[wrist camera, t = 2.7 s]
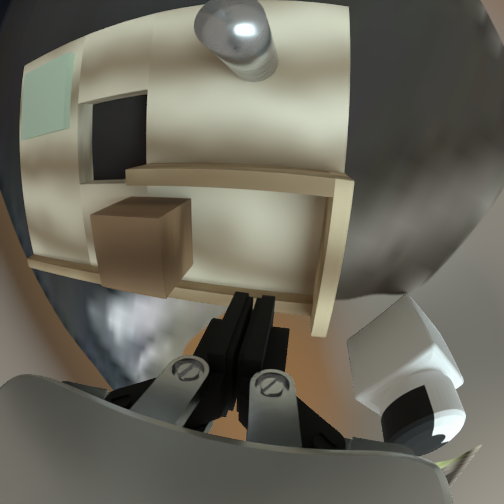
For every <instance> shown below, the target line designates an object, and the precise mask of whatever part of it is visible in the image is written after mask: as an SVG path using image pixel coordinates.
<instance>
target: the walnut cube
mask: <svg viewBox="0 0 504 504" xmlns="http://www.w3.org/2000/svg"><path fill="white" fill-rule="evenodd" d="M90 220H91V228H92V235H93V241H94V247H95V253H96V259H97V264H98V269H99V274H100V279H101V284H102V286H103V287H107V288H112V289H117V290H122V291H127V292H132V293H137V294H142V295H147V296H153V297H158V298H164V299H166V298H167V297H168V296H169V294H170V293H171V292H172V291H173V289H174V288H175V287H176V285H177V284H178V283H179V282H180V280H181V279H182V278H183V277H184V275H185V274H186V273H187V272H188V270H189V269H190V268H191V267H192V265H193V245H192V211H191V198H168V197H135V196H131V197H128V198H126V199H124V200H121V201H119V202H117V203H115V204H112V205H110V206H108V207H106V208H103V209H101V210H99V211H97V212H95V213H93V214H90Z"/></svg>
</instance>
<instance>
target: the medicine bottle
mask: <svg viewBox="0 0 504 504" xmlns="http://www.w3.org/2000/svg"><path fill="white" fill-rule="evenodd" d="M347 347H348V352H349V360H350V366H351V373H352V381H353V388H354V396H355V398H356V400H358V401H359V402H361V403H362V404H364V405H365V406H367V407H368V408H370V409H371V410H373V411H375V412H376V413H378V414H379V415H380V418H381V424H382V431H383V437H384V442H387V443H394V444H402V445H405V446H408V447H409V448H410V449H412V450H413V452H414V454H415V456H421V455H425V454H427V453H430V452H432V451H434V450H436V449H438V448H440V447H441V446H443V445H444V444H446V443H447V442H448V441H450V440H451V439H452V438H453V437H454V436H455V435H456V434H457V433H458V432H459V431H460V430H461V428H462V426H463V424H464V421H465V418H466V415H465V412H464V409H463V407H462V404H461V401H460V399H459V396H458V394H457V392H456V389H457V388H458V387H459V386H461V385H462V384H463V377H462V375H461V373H460V371H459V369H458V367H457V365H456V363H455V361H454V359H453V357H452V355H451V353H450V351H449V349H448V347H447V345H446V343H445V342H444V340H443V338H442V336H441V334H440V333H439V331H438V330H437V329H436V327H435V326H434V325H433V324H432V322H431V321H430V320H429V318H428V317H427V316H426V315H425V313H424V312H423V311H422V310H421V309H420V307H419V306H418V305H417V304H416V302H415V301H414V300H413V299H412V298H411V296H410V295H408V294H405V295H403V296H402V297H401V298H400V299H399V300H397V301H396V302H395V303H394V304H393V305H391V306H390V307H389V308H388V309H387V310H385V311H384V312H383V313H382V314H381V315H379V316H378V317H377V318H375V319H374V320H373V321H372V322H370V323H369V324H368V325H367V326H365V327H364V328H363V329H361V330H360V331H359V332H357V333H356V334H355V335H353V336H352V337H351V338H349V339H348V340H347Z"/></svg>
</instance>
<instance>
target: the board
mask: <svg viewBox="0 0 504 504" xmlns="http://www.w3.org/2000/svg"><path fill="white" fill-rule="evenodd" d="M258 2H259V3H260V4H261V5H262V7H263V8H264V11H265V13H266V17H267V20H268V23H269V26H270V30H271V33H272V37H273V40H274V44H275V47H276V51H277V54H278V59H279V63H278V67H277V69H276V71H275V72H274V74H273V75H272V76H270V77H269V78H267V79H265V80H263V81H259V82H249V81H245V80H243V79H241V78H240V77H238V76H237V75H236V74H235V73H234V72H233V71H232V70H231V69H230V68H229V67H228V66H227V65H226V64H225V63H224V62H223V61H221V60H220V59H219V58H218V57H217V56H216V55H215V54H214V53H213V52H212V51H210V50H209V49H208V48H207V47H206V46H205V45H204V44H203V43H201V42H200V41H199V39H198V38H197V36H196V34H195V32H194V20H195V17H196V15H197V13H198V12H199V10H200V9H201V8H202V7H203V6H204V5H198V6H191V7H185V8H180V9H174V10H169V11H165V12H160V13H156V14H152V15H148V16H144V17H140V18H136V19H133V20H129V21H126V22H123V23H120V24H117V25H114V26H111V27H108V28H105V29H102V30H99V31H97V32H94V33H91V34H89V35H86V36H84V37H82V38H79V39H77V40H75V41H72V42H70V43H68V44H66V45H63V46H61V47H59V48H57V49H55V50H53V51H51V52H49V53H47V54H45V55H43V56H42V57H40V58H38V59H36V60H34V61H33V62H31V63H29V64H27V65H26V66H24V73H23V82H22V92H21V105H20V163H21V177H22V187H23V196H24V204H25V211H26V217H27V223H28V228H29V234H30V239H31V243H32V248H33V252H34V255H32V256H31V257H29V258H27V261H28V265H29V267H31V268H35V269H38V270H42V271H46V272H50V273H54V274H58V275H62V276H67V277H71V278H75V279H80V280H84V281H89V282H93V283H98V284H101V279H100V274H99V269H98V264H97V259H96V253H95V247H94V241H93V235H92V228H91V220H90V214H93V213H95V212H97V211H99V210H101V209H103V208H106V207H108V206H110V205H112V204H115V203H117V202H119V201H121V200H124V199H126V198H128V197H131V196H135V197H168V198H191V211H192V245H193V265H192V267H191V268H190V269H189V270H188V272H187V273H186V274H185V275H184V277H183V278H182V279H181V280H180V282H179V283H178V284H177V285H176V287H175V288H174V289H173V291H172V292H171V293H170V294H169V296H168V297H170V298H176V299H182V300H189V301H195V302H201V303H208V304H215V305H222V306H229V304H230V302H231V300H232V298H233V296H234V294H235V292H236V291H238V292H245V293H249V296H250V297H253V308H254V305H255V302H256V299H257V297H258V298H262V295H269V296H275V307H274V312H277V313H286V314H295V315H306V316H311V336H317V337H326V335H327V331H328V327H329V323H330V318H331V314H332V310H333V305H334V301H335V296H336V291H337V287H338V282H339V277H340V272H341V266H342V261H343V256H344V250H345V244H346V238H347V232H348V225H349V219H350V212H351V205H352V197H353V189H354V180H352V179H351V178H350V177H348V176H347V175H346V174H344V168H345V158H346V146H347V132H348V116H349V93H350V25H349V7H346V6H339V5H332V4H324V3H314V2H301V1H279V0H258ZM67 53H74V54H75V59H74V67H73V76H72V87H71V103H70V128H69V129H65V130H61V131H57V132H53V133H49V134H45V135H41V136H38V137H34V138H31V139H27V140H22V141H21V114H22V97H23V86H24V77H25V74H27V73H28V72H30V71H32V70H34V69H36V68H38V67H40V66H41V65H43V64H45V63H47V62H49V61H52V60H54V59H56V58H58V57H60V56H62V55H65V54H67ZM145 94H148V95H147V122H146V165H142V166H137V167H133V168H129V169H125V173H126V179H117V180H94V177H93V156H92V111H93V104H97V103H101V102H106V101H111V100H116V99H121V98H127V97H132V96H138V95H145Z"/></svg>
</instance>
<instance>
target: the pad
mask: <svg viewBox="0 0 504 504" xmlns="http://www.w3.org/2000/svg"><path fill="white" fill-rule="evenodd" d="M74 59H75V54H74V53H67V54H65V55H62V56H60V57H58V58H56V59H54V60H52V61H49V62H47V63H45V64H43V65H41V66H40V67H38V68H36V69H34V70H32V71H30V72H28V73H27V74H25V77H24V86H23V97H22V114H21V141H22V140H27V139H31V138H34V137H38V136H41V135H45V134H49V133H53V132H57V131H61V130H65V129H69V128H70V103H71V87H72V76H73V67H74Z"/></svg>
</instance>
